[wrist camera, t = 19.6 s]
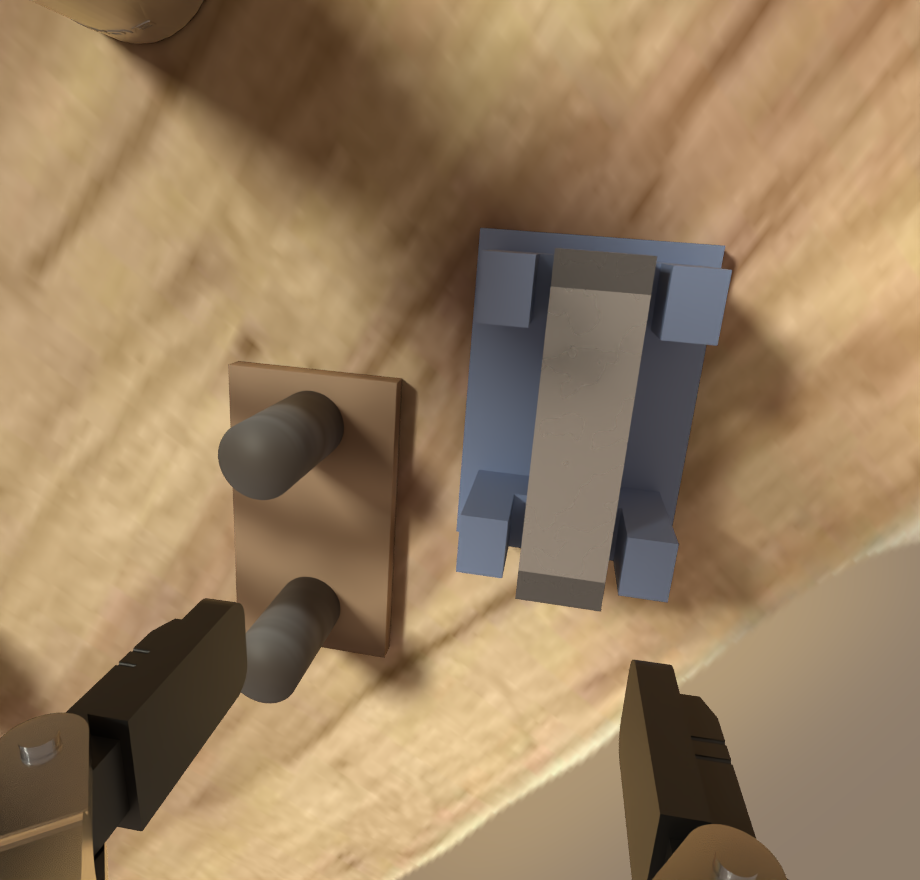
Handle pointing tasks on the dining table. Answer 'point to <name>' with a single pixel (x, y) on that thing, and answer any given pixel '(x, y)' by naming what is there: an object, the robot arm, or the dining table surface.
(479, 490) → the notched cradle
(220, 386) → the dining table surface
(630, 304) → the steel bar
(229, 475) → the stand
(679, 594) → the dining table surface
